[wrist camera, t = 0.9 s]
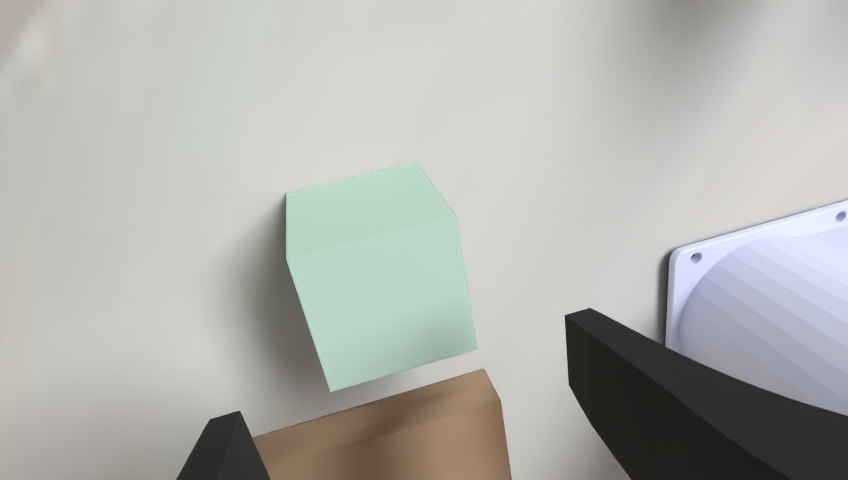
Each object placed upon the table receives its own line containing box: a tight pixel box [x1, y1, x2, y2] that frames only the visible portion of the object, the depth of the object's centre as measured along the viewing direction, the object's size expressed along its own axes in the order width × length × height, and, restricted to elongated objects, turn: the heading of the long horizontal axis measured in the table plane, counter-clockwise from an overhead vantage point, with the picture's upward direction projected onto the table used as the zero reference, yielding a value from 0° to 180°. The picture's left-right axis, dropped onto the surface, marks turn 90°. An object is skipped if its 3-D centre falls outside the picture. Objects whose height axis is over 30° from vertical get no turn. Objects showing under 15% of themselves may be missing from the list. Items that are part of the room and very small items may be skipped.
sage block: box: [286, 161, 477, 392], centre depth 17 cm, size 4×4×5 cm
